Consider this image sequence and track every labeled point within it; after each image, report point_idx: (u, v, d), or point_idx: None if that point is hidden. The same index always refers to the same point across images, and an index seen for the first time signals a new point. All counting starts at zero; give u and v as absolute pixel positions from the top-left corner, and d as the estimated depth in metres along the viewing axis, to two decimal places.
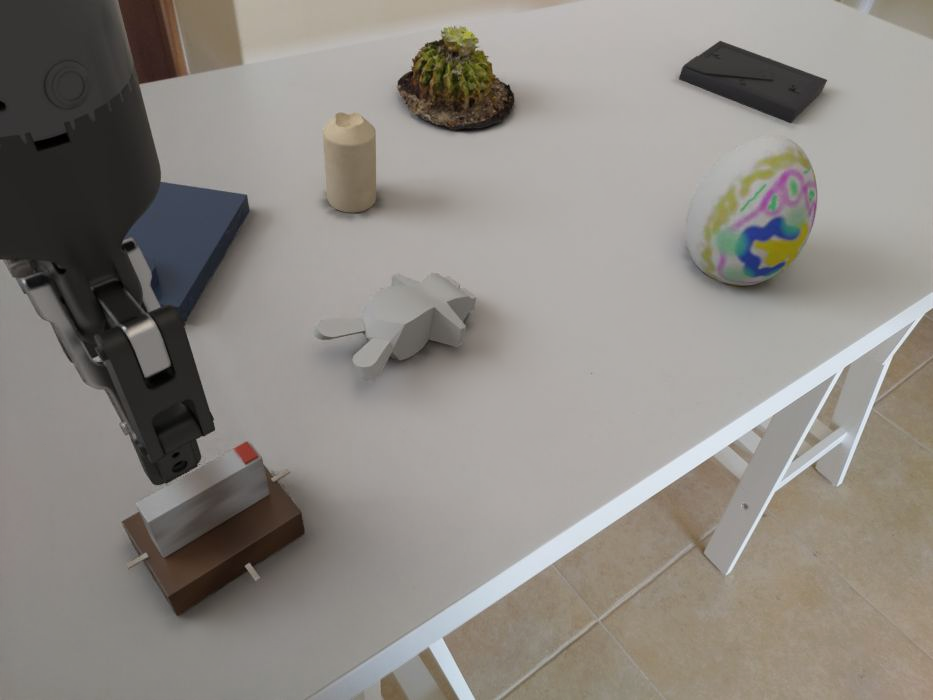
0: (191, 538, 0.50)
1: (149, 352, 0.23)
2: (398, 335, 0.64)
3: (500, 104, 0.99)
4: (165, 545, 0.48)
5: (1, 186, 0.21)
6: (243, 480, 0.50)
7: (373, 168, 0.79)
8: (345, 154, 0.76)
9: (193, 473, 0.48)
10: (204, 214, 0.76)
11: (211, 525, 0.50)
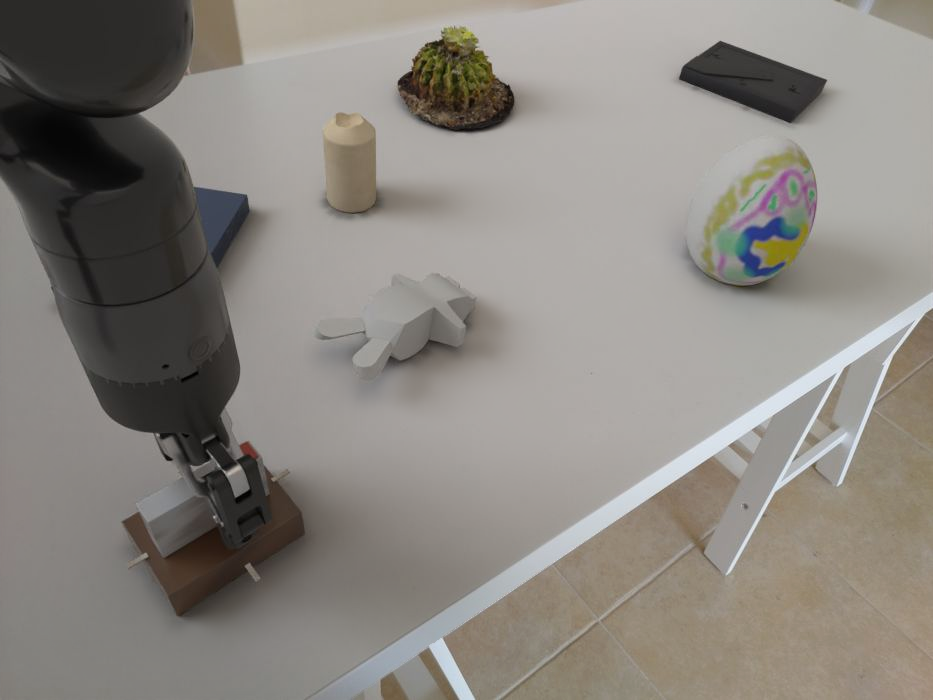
0: (191, 538, 0.50)
1: (238, 484, 0.39)
2: (398, 335, 0.64)
3: (500, 104, 0.99)
4: (165, 545, 0.48)
5: (160, 401, 0.37)
6: None
7: (373, 168, 0.79)
8: (345, 154, 0.76)
9: None
10: (204, 214, 0.76)
11: (211, 525, 0.50)
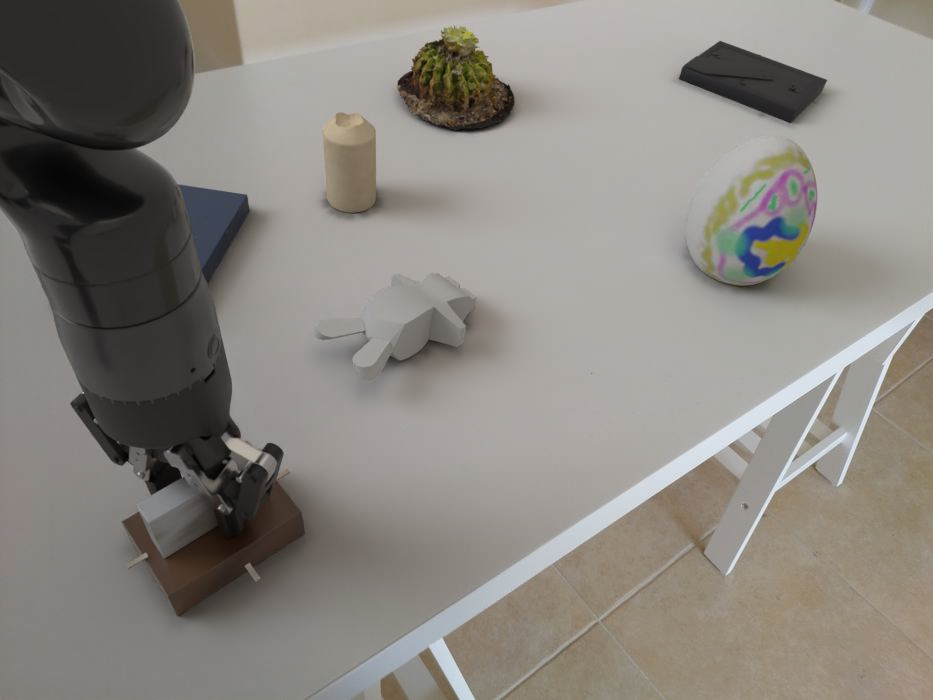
0: (191, 538, 0.50)
1: (271, 472, 0.43)
2: (398, 335, 0.64)
3: (500, 104, 0.99)
4: (166, 546, 0.48)
5: (189, 407, 0.39)
6: None
7: (373, 168, 0.79)
8: (345, 154, 0.76)
9: None
10: (204, 214, 0.76)
11: (212, 525, 0.50)
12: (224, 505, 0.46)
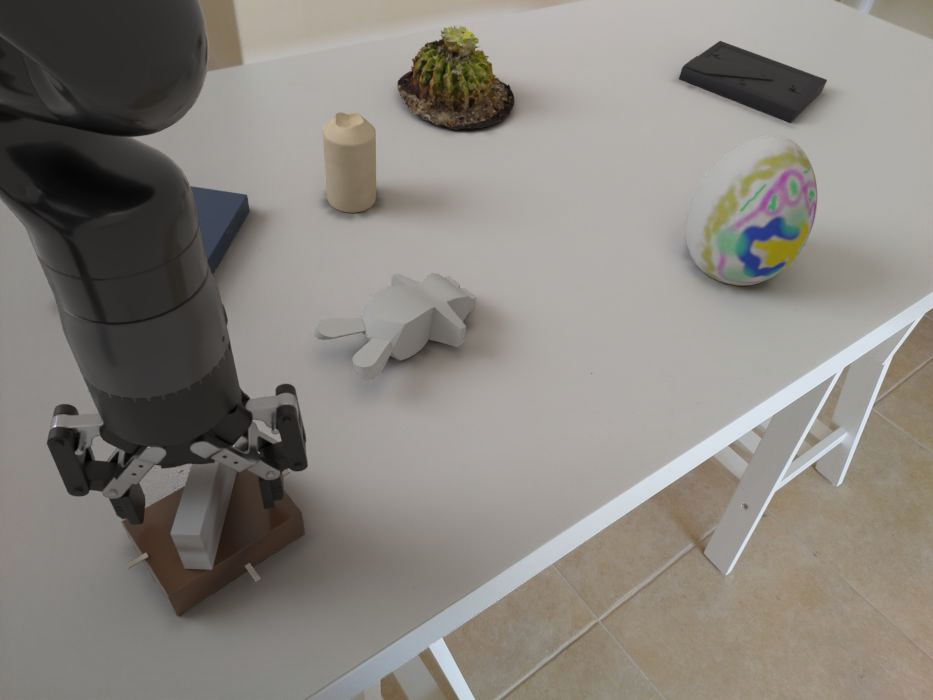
0: (218, 539, 0.50)
1: (296, 406, 0.45)
2: (398, 335, 0.64)
3: (500, 104, 0.99)
4: (210, 555, 0.48)
5: (225, 378, 0.40)
6: None
7: (373, 168, 0.79)
8: (345, 154, 0.76)
9: (189, 480, 0.48)
10: (204, 214, 0.76)
11: (223, 519, 0.51)
12: (274, 468, 0.47)
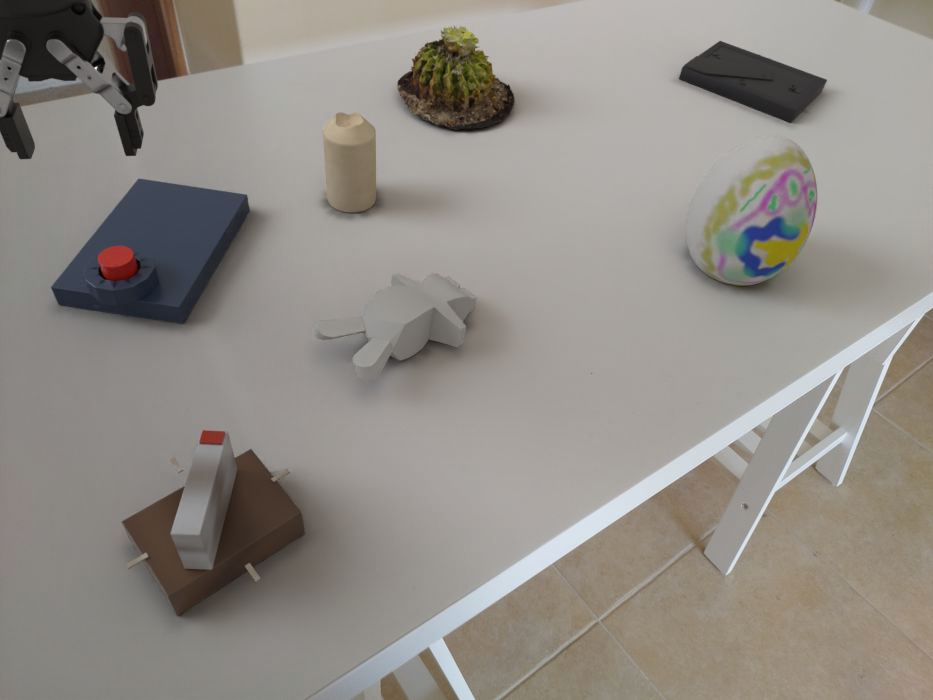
0: (218, 539, 0.50)
1: (144, 31, 0.52)
2: (398, 335, 0.64)
3: (500, 104, 0.99)
4: (210, 555, 0.48)
5: None
6: (226, 461, 0.51)
7: (373, 168, 0.79)
8: (345, 154, 0.76)
9: (189, 480, 0.48)
10: (204, 214, 0.76)
11: (223, 519, 0.51)
12: (125, 98, 0.54)
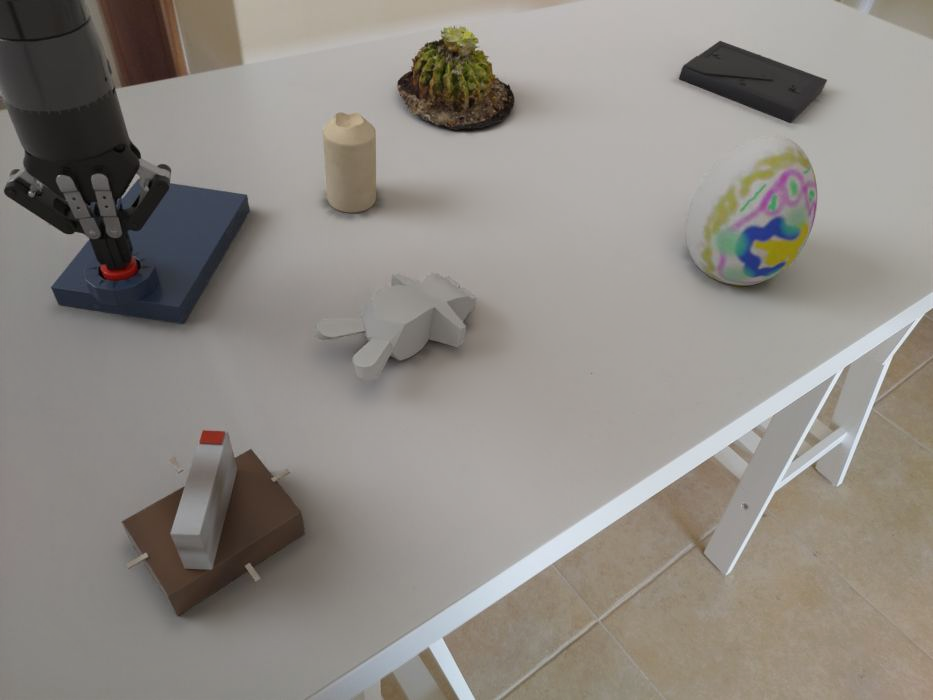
0: (218, 539, 0.50)
1: None
2: (398, 335, 0.64)
3: (500, 104, 0.99)
4: (210, 555, 0.48)
5: (110, 113, 0.55)
6: (226, 461, 0.51)
7: (373, 168, 0.79)
8: (345, 154, 0.76)
9: (189, 480, 0.48)
10: (204, 214, 0.76)
11: (223, 519, 0.51)
12: (116, 226, 0.62)
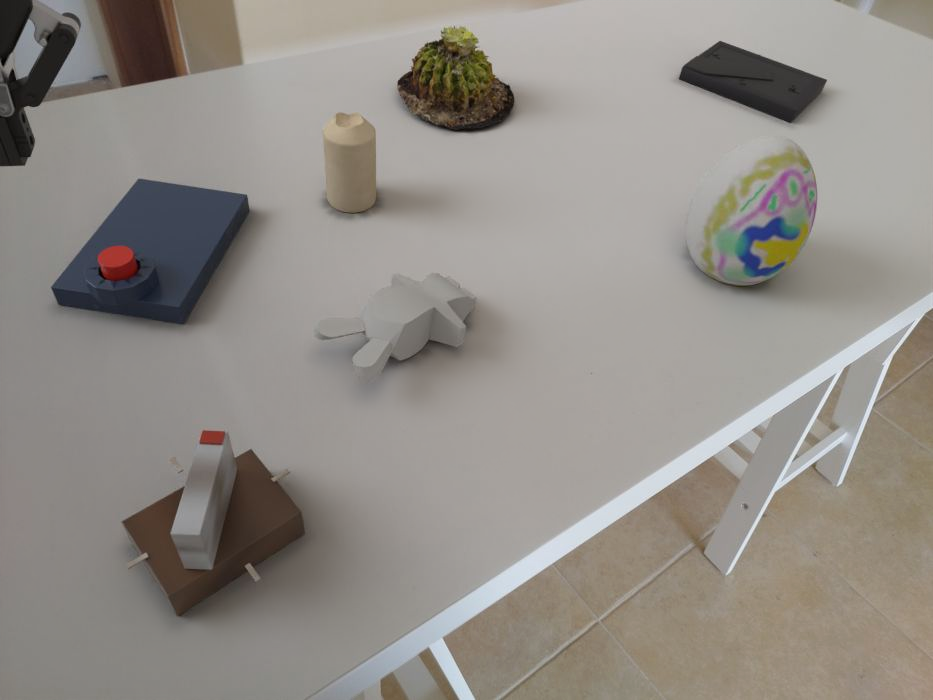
0: (218, 539, 0.50)
1: None
2: (398, 335, 0.64)
3: (500, 104, 0.99)
4: (210, 555, 0.48)
5: None
6: (226, 461, 0.51)
7: (373, 168, 0.79)
8: (345, 154, 0.76)
9: (189, 480, 0.48)
10: (204, 214, 0.76)
11: (223, 519, 0.51)
12: (5, 97, 0.46)
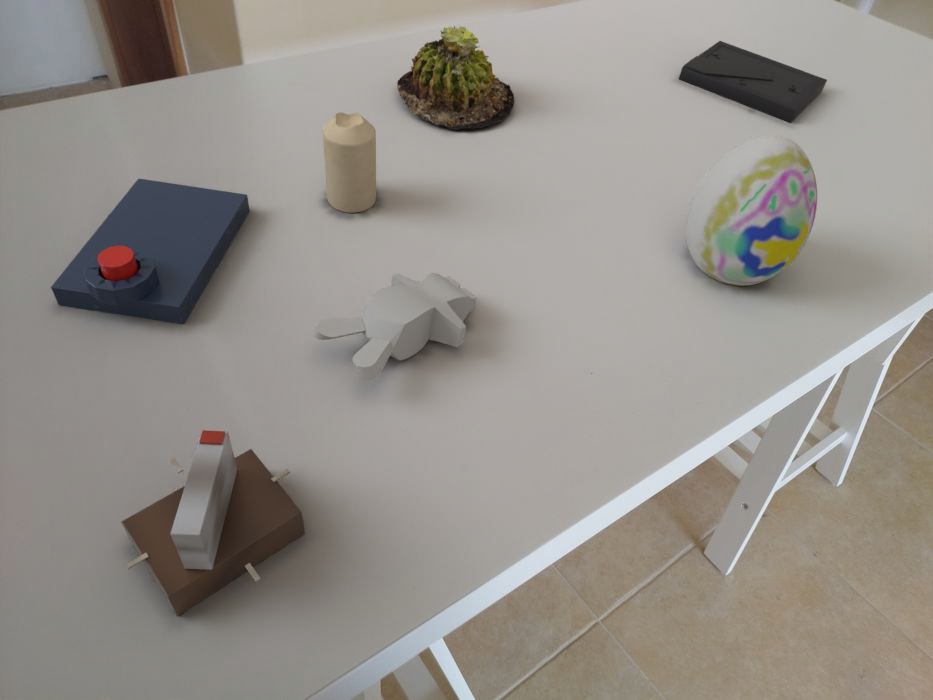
0: (218, 539, 0.50)
1: None
2: (398, 335, 0.64)
3: (500, 104, 0.99)
4: (210, 555, 0.48)
5: None
6: (226, 461, 0.51)
7: (373, 168, 0.79)
8: (345, 154, 0.76)
9: (189, 480, 0.48)
10: (204, 214, 0.76)
11: (223, 519, 0.51)
12: None
